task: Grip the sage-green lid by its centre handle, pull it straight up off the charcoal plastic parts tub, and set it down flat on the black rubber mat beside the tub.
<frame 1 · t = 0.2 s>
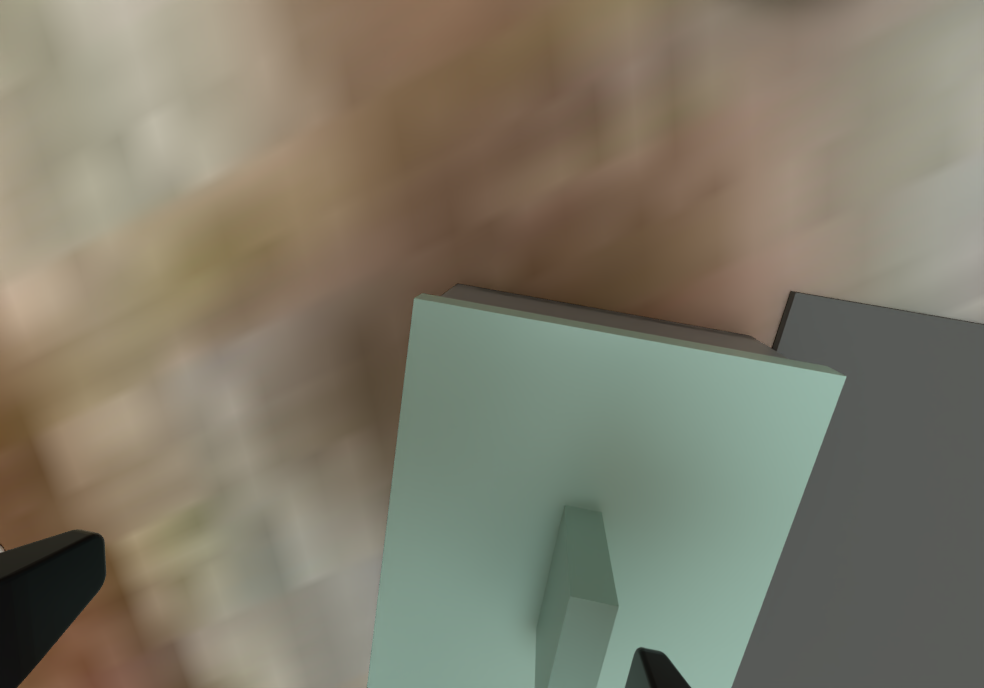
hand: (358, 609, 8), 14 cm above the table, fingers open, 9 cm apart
mat: (918, 552, 21), on the table
tub: (562, 481, 22), on the table
lid: (566, 553, 18), point 5 cm above the table, touching tub
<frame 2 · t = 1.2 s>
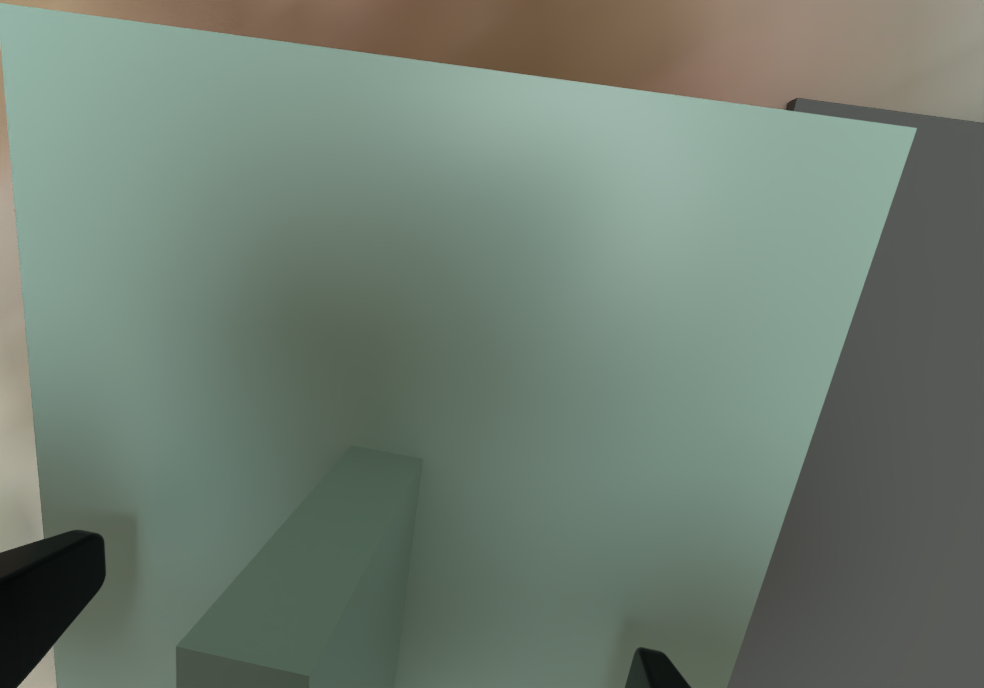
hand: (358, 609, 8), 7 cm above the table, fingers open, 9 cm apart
lid: (390, 545, 10), point 5 cm above the table, touching tub
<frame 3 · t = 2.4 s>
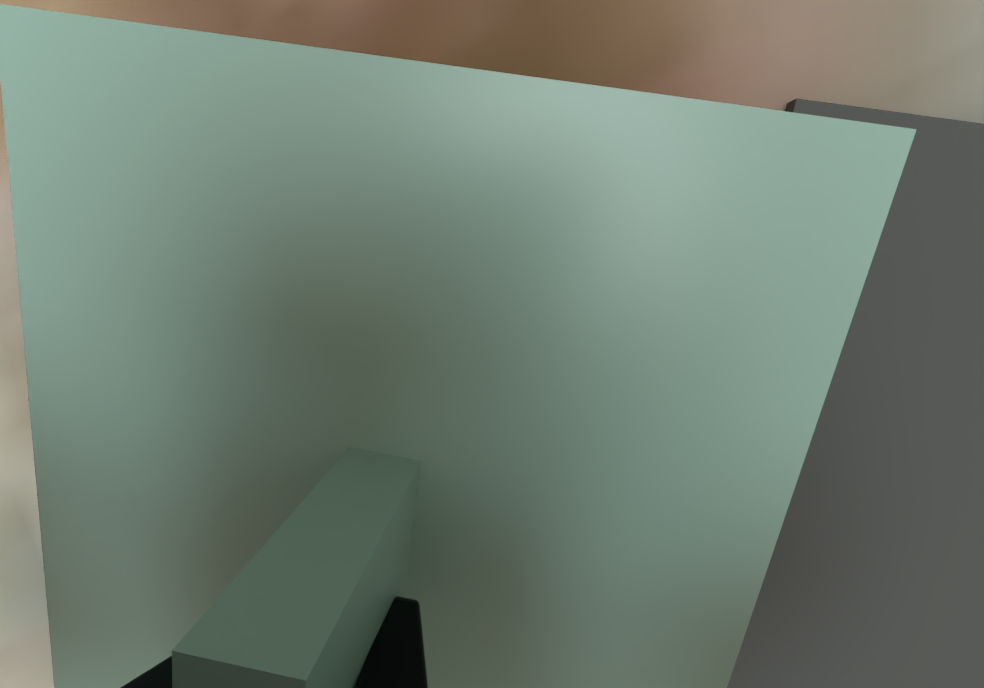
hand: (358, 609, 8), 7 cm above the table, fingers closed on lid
lid: (389, 546, 10), point 5 cm above the table, touching gripper, tub
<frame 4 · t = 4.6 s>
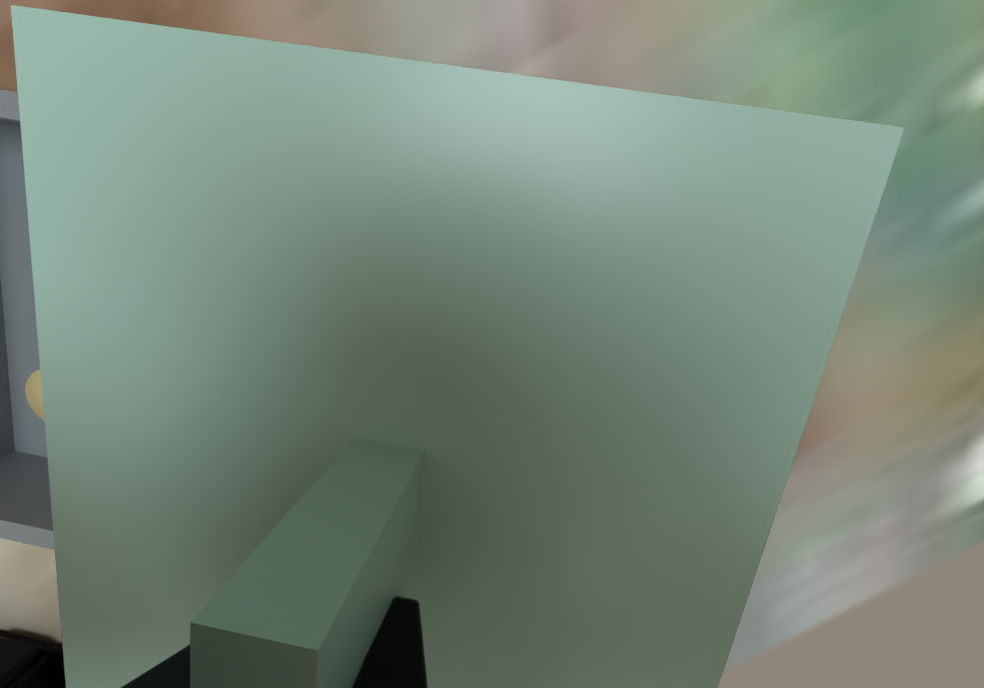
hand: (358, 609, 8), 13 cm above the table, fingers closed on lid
tub: (131, 316, 22), on the table
lid: (392, 536, 10), point 11 cm above the table, touching gripper
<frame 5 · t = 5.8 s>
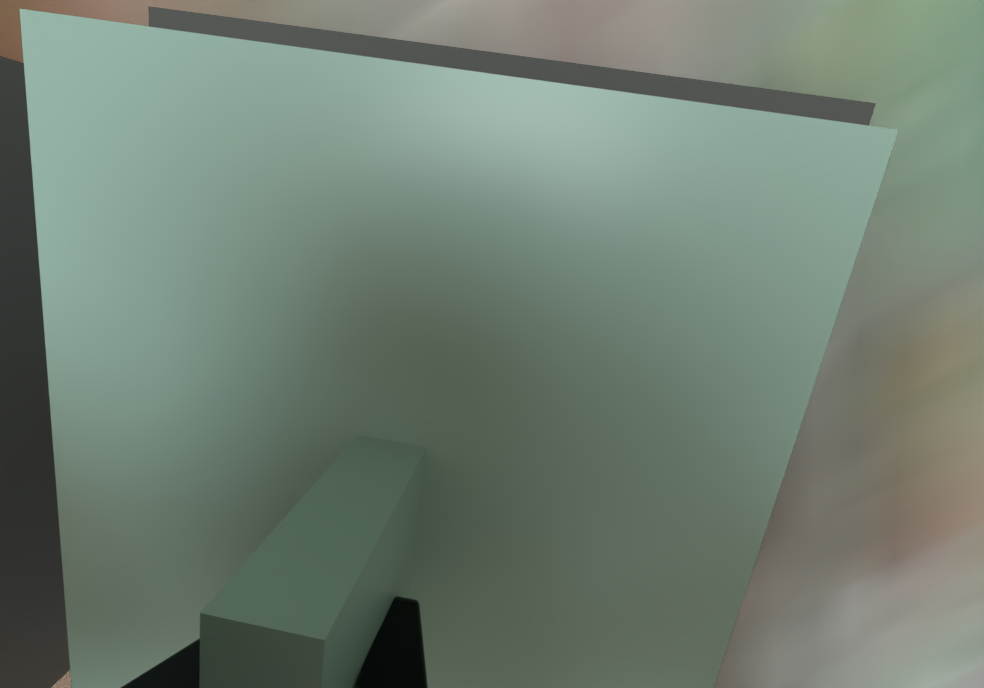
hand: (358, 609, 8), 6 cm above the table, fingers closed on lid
mat: (443, 439, 14), on the table
lid: (394, 533, 10), point 5 cm above the table, touching gripper
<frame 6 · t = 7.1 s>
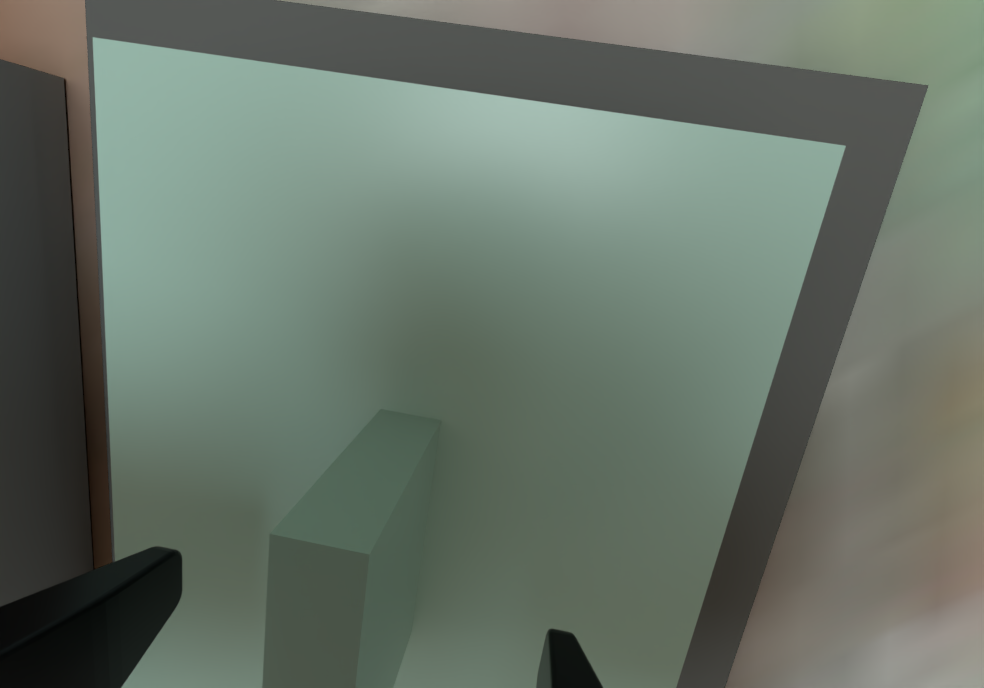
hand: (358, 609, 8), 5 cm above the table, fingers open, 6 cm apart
mat: (427, 468, 13), on the table
lid: (409, 500, 11), point 2 cm above the table, touching mat
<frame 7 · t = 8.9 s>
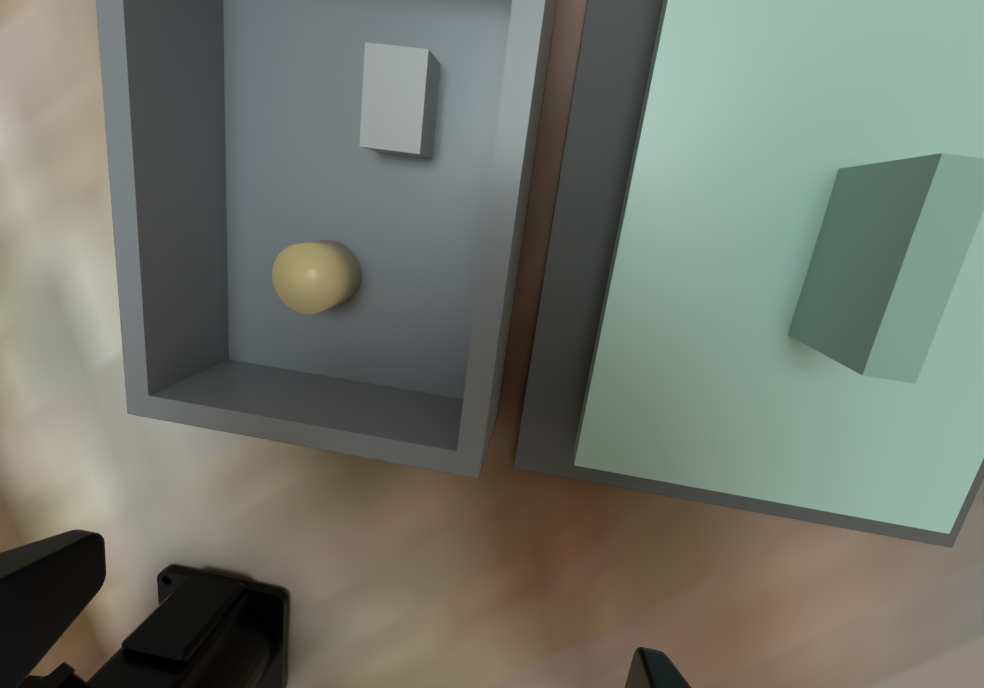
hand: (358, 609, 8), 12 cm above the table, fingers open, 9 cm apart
mat: (794, 253, 17), on the table
tub: (368, 194, 19), on the table
lid: (816, 255, 16), point 2 cm above the table, touching mat
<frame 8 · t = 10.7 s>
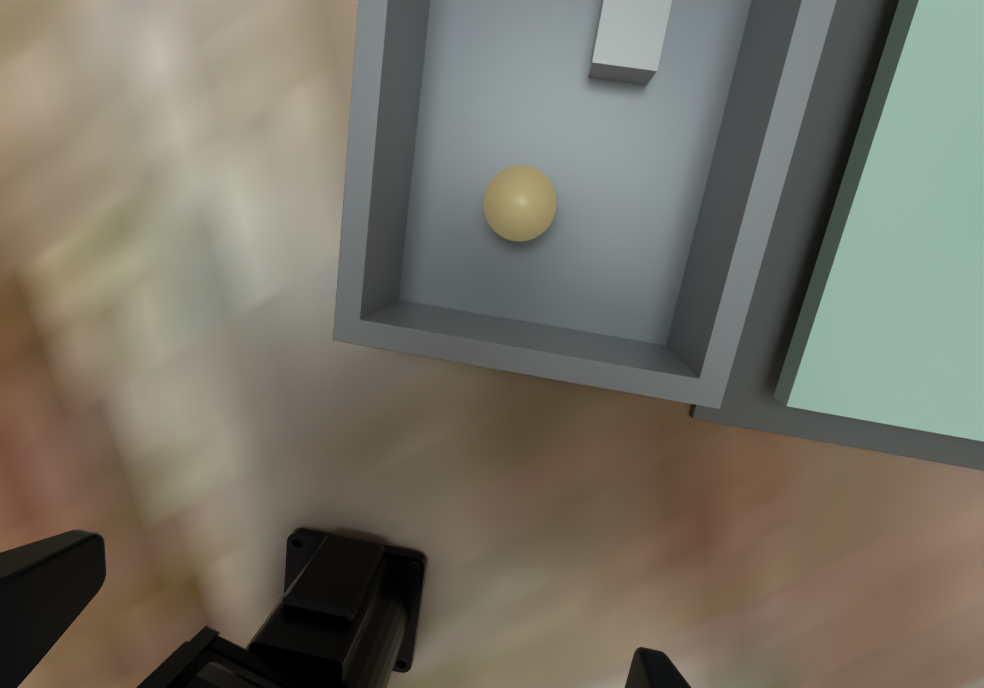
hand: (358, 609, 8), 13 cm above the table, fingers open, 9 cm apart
tub: (564, 126, 18), on the table
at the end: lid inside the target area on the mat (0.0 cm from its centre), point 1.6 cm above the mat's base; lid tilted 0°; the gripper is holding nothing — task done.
